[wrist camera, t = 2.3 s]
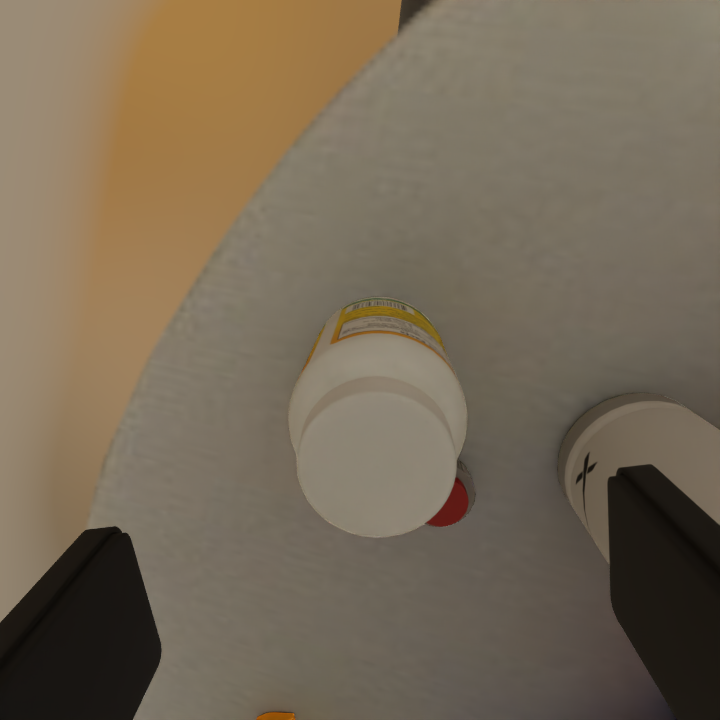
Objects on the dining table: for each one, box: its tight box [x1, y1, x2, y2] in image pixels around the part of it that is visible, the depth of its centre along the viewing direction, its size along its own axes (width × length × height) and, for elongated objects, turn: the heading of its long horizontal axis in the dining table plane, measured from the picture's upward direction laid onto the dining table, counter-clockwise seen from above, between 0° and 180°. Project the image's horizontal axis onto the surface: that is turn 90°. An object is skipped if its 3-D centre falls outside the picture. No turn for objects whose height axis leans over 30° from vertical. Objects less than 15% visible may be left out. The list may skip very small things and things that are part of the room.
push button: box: [425, 459, 475, 527], centre depth 23 cm, size 3×3×2 cm
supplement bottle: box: [288, 297, 467, 538], centre depth 18 cm, size 5×5×10 cm
